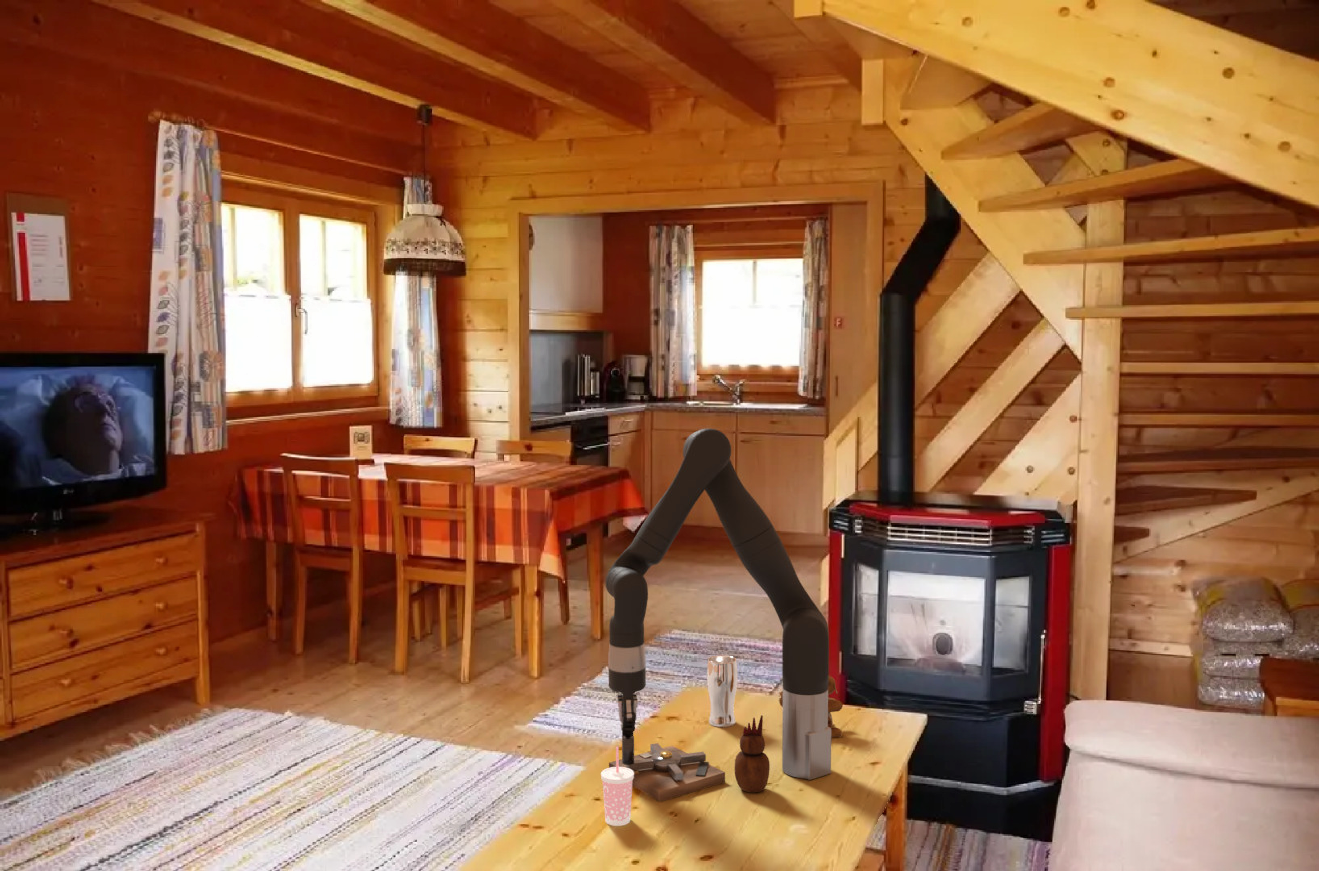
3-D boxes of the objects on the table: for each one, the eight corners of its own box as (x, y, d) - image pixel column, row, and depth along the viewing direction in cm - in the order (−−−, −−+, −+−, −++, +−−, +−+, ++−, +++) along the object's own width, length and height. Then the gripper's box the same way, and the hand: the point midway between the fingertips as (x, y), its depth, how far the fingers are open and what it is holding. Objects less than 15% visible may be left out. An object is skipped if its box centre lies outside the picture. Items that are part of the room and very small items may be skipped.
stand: (726, 781, 218) (726, 770, 218) (659, 802, 208) (659, 790, 208) (673, 754, 232) (673, 743, 232) (608, 772, 223) (607, 761, 223)
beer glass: (738, 728, 248) (738, 663, 247) (707, 728, 248) (707, 663, 247) (736, 717, 255) (736, 655, 254) (706, 717, 255) (706, 655, 254)
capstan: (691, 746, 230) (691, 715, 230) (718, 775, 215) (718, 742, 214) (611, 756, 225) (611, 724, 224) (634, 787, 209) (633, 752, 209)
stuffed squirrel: (845, 738, 241) (846, 680, 240) (781, 738, 241) (782, 680, 240) (838, 722, 251) (838, 667, 250) (777, 723, 251) (777, 667, 250)
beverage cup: (602, 813, 203) (601, 740, 202) (635, 813, 203) (634, 740, 202) (599, 827, 197) (599, 752, 196) (633, 827, 197) (632, 752, 196)
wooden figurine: (773, 787, 215) (773, 713, 214) (763, 798, 210) (763, 722, 209) (741, 781, 218) (741, 708, 217) (730, 792, 213) (730, 717, 211)
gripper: (648, 674, 213) (648, 759, 215) (643, 654, 226) (643, 734, 228) (609, 676, 213) (610, 761, 214) (607, 655, 226) (607, 736, 227)
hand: (627, 747), depth 221 cm, fingers closed
